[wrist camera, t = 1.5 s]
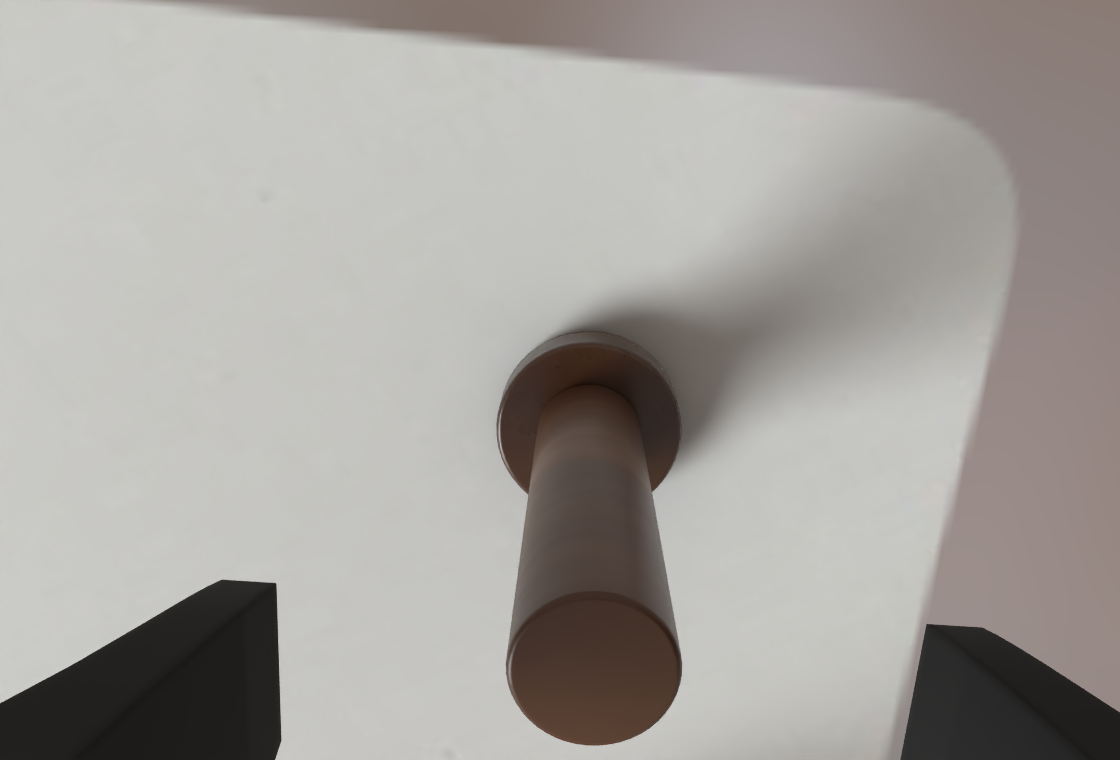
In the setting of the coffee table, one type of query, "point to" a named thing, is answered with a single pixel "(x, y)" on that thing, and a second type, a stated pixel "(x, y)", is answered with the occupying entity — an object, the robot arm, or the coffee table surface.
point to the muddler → (591, 538)
